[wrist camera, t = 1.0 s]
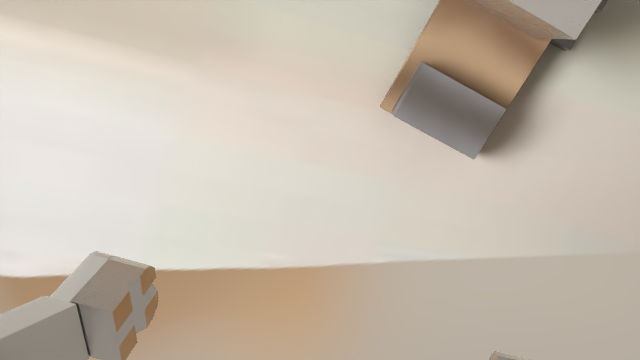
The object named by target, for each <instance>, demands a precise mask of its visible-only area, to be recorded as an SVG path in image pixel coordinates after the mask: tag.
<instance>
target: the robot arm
mask: <svg viewBox="0 0 640 360" xmlns="http://www.w3.org/2000/svg"><path fill="white" fill-rule="evenodd" d="M155 279H156V273H155V268H154V267H152V266H149V265H145V264H142V263H138V262H134V261H131V260H127V259H124V258H120V257H116V256H112V255H108V254H104V253H101V252H97V251H96V252H94V253H92V254H90V255H88V257H87V258H86V259H85V260H84V261H83V262H82V263H81V264H80V265H79V266H78V267H77V268H76V269H75V271H74V272H73V273H72V274H71V275H70V276H69V277H68V278H67V279H66V280H65V281H64V283H62V284H61V286H60V287H59V288H58V289H57V290H56V291H55V292H54V293H53V294H52V295H51V296H50V297H48V296H42V297H40V298H38V299H35V300H33V301H31V302H28V303H26V304H23V305H21V306H19V307H17V308H14V309H12V310H9V311H7V312H5V313H3V314H0V360H88V359H89V357H93V358H98V359H102V360H126V358H127V357H128V355H129V354H130V353H131V351H132V349H133V348H134V346H135V345H136V343H137V337H136V333H138V332H140V331H142V330H144V329H145V328H147V327H148V325H149V324H150V322H151V321H152V319H153V317H154V314H155V311H156V309H157V305H158V291H157V289H156V288H155V287H154V286H153V284H152V283H153V281H154V280H155ZM489 360H530V359H526V358H521V357H517V356H513V355H509V354H505V353H500V352H496V351H495V352H493V354H492V355H491V357H490V359H489Z"/></svg>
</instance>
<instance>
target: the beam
mask: <svg viewBox="0 0 640 360" xmlns="http://www.w3.org/2000/svg"><path fill="white" fill-rule="evenodd" d="M550 41H551V39H545V38H531V37H529V36H528V35H526V34H524V33H523V32H521V31H519V30H517V29H516V28H514V27H512V26H510V25H509V24H507V23H505V22H503V21H502V20H500V19H498V18H496V17H495V16H493V15H491V14H489V13H488V12H486V11H484V10H482V9H481V8H479V7H477V6H475V5H474V4H472V3H470V2H468V1H467V0H440V1H439V3H438V5H437V6H436V8H435V10H434V12H433V14H432V15H431V17H430V19H429V21H428V22H427V24H426V26H425V28H424V29H423V31H422V33H421V35H420V36H419V38H418V40H417V42H416V44H415V45H414V47H413V49H412V51H411V52H410V54H409V56H408V58H407V59H406V61H405V63H404V65H403V66H402V68H401V70H400V72H399V74H398V75H397V77H396V79H395V81H394V82H393V84H392V86H391V88H390V89H389V91H388V93H387V95H386V96H385V98H384V100H383V102H382V104H381V105H380V107H381V108H382V109H384V110H386V111H388V112H390V113H391V114H393V115H394V116H395V117H397V118H399V119H400V120H402V121H404V122H406V123H408V124H410V125H411V126H413V127H415V128H417V129H419V130H421V131H422V132H424V133H426V134H428V135H430V136H432V137H433V138H435V139H437V140H439V141H441V142H443V143H444V144H446V145H448V146H450V147H452V148H454V149H455V150H457V151H459V152H461V153H463V154H465V155H467V156H468V157H470V158H472V159H475V158H476V156H477V154H478V153H479V151H480V150H481V148H482V147H483V145H484V144H485V142H486V140H487V139H488V137H489V136H490V134H491V133H492V131H493V130H494V128H495V127H496V125H497V123H498V122H499V120H500V119H501V117H502V116H503V114H504V113H505V111H506V109H507V108H508V106H509V105H510V103H511V102H512V100H513V99H514V97H515V95H516V94H517V92H518V91H519V89H520V88H521V86H522V85H523V83H524V81H525V80H526V78H527V77H528V75H529V74H530V72H531V71H532V69H533V67H534V66H535V64H536V63H537V61H538V60H539V58H540V57H541V55H542V53H543V52H544V50H545V49H546V47H547V46H548V44H549V43H550Z"/></svg>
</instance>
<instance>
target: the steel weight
mask: <svg viewBox="0 0 640 360" xmlns="http://www.w3.org/2000/svg"><path fill="white" fill-rule="evenodd" d="M467 1H468V2H470V3H472V4H474V5H475V6H477V7H479V8H481V9H482V10H484V11H486V12H488V13H489V14H491V15H493V16H495V17H496V18H498V19H500V20H502V21H503V22H505V23H507V24H509V25H510V26H512V27H514V28H516V29H517V30H519V31H521V32H523V33H524V34H526V35H528V36H529V37H531V38H545V39H577V37H578V36H579V34H580V33H581V31H582V30H583V28H584V27H585V25H586V24H587V22H588V21H589V19H590V18H591V16H592V15H593V13H594V12H595V10H596V9H597V7H598V5H599V4H600V2H601V1H602V0H467Z"/></svg>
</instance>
